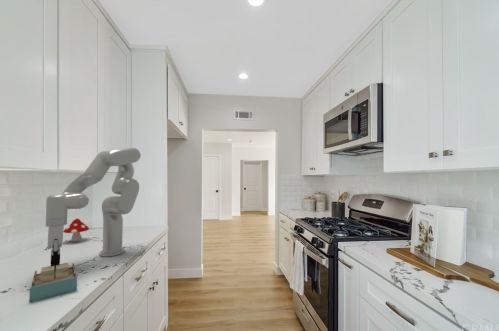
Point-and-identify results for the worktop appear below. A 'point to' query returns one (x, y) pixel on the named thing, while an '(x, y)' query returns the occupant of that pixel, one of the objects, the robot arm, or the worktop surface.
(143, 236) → the worktop surface
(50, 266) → the grey stepped block
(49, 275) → the oak block
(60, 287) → the teal tray
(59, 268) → the oak block
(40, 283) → the walnut channel
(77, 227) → the decorative mushroom
